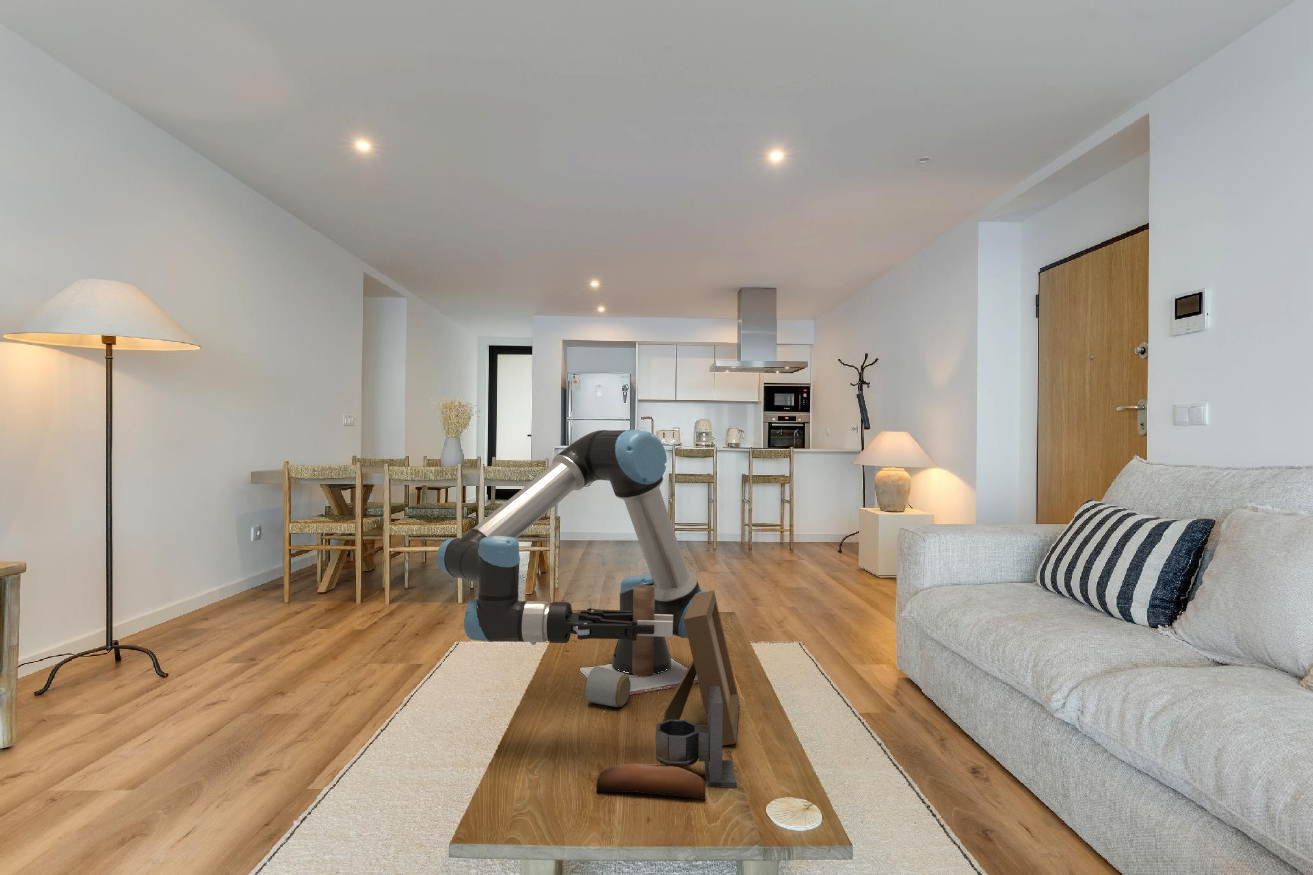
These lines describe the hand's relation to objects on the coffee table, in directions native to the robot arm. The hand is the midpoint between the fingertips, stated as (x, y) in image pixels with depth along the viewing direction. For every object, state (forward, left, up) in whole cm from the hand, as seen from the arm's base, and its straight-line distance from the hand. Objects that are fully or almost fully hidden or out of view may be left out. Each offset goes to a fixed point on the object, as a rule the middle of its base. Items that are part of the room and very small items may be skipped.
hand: (672, 625), depth 129 cm
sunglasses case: (+13, +5, -24) cm, 28 cm away
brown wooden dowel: (+3, -4, -9) cm, 10 cm away
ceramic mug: (-11, -24, -24) cm, 36 cm away
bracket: (+5, +9, -23) cm, 25 cm away
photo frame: (-14, -2, -23) cm, 28 cm away
